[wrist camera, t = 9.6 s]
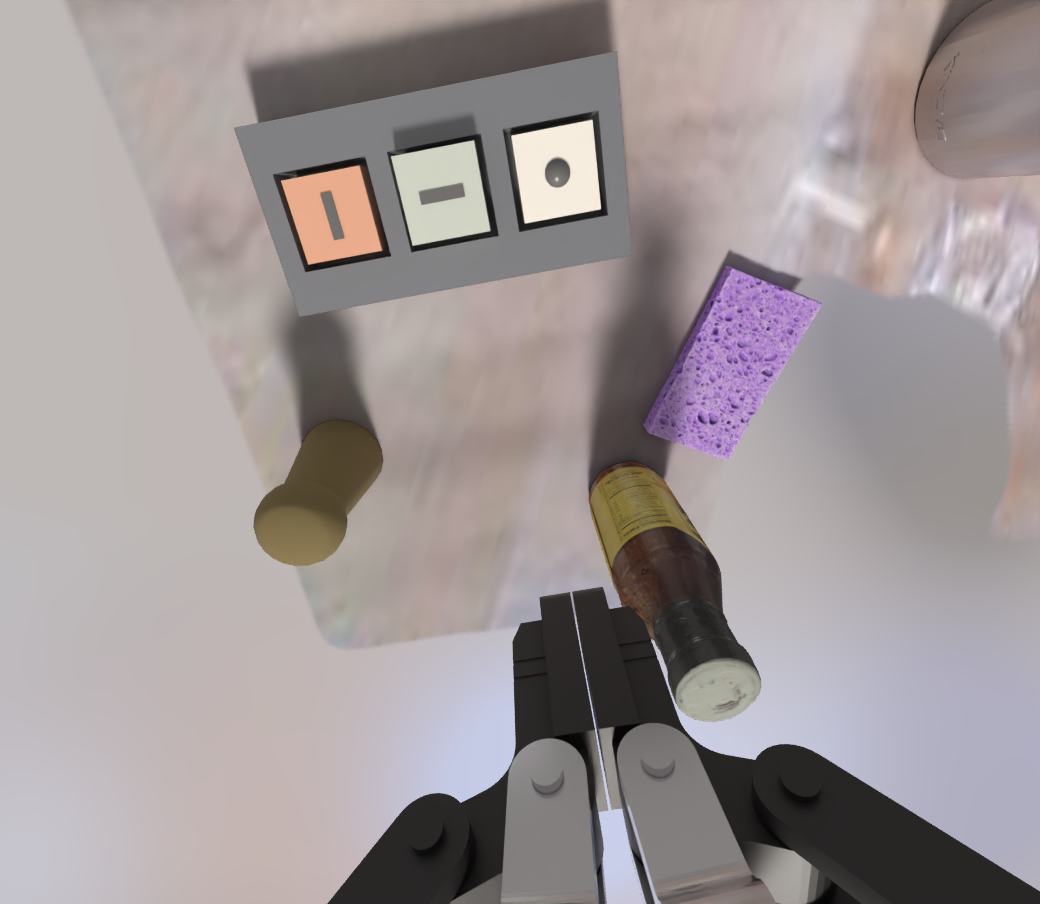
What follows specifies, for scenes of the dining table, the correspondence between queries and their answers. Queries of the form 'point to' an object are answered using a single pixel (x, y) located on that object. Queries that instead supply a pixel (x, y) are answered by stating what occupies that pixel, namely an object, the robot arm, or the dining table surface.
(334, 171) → the terracotta key
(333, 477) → the cork
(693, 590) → the sauce bottle
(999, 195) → the dining table surface
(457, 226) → the sage key
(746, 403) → the sponges
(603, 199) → the keypad
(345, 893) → the robot arm
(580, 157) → the cream key
